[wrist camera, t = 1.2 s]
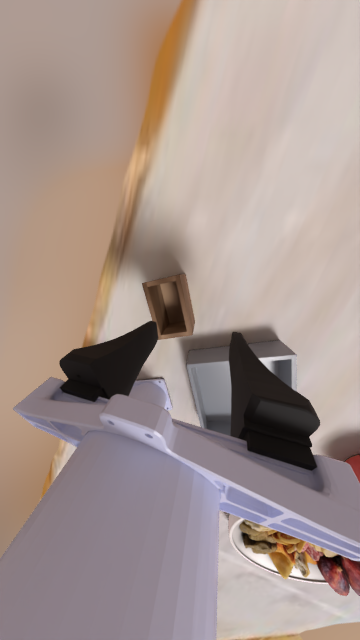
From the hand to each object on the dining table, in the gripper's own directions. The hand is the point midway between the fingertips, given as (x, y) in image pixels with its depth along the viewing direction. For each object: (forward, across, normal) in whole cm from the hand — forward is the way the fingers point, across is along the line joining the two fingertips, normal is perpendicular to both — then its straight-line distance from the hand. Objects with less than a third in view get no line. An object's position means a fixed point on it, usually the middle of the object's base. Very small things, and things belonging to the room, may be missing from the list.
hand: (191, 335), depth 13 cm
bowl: (+1, -26, +55) cm, 61 cm away
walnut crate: (+11, +5, +2) cm, 12 cm away
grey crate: (+8, -8, +17) cm, 20 cm away
